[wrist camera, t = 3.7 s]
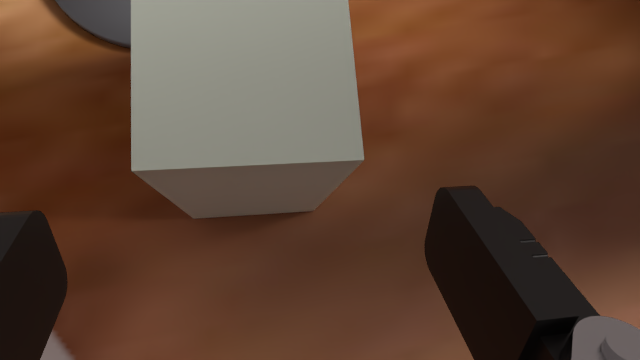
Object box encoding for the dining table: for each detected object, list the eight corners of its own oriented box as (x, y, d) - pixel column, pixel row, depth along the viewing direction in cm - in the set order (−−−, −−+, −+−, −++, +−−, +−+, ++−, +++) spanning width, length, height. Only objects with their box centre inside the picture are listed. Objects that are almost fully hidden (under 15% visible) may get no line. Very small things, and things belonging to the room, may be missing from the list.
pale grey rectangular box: (188, 44, 21) (130, -145, 11) (300, 43, 22) (334, -134, 12) (193, 218, 20) (131, 171, 10) (313, 211, 20) (364, 160, 11)
